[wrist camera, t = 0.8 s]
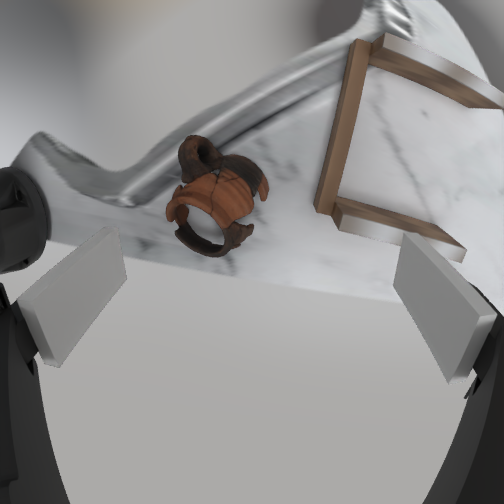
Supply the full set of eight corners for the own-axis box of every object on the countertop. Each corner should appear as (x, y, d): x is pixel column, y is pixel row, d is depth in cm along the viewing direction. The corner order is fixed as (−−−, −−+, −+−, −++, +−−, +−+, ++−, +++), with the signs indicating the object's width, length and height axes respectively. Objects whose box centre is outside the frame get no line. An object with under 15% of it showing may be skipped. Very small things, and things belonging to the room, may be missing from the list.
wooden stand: (313, 204, 33) (322, 226, 26) (350, 45, 25) (368, 26, 19) (433, 237, 33) (461, 263, 26) (470, 96, 25) (507, 96, 19)
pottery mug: (288, 210, 33) (257, 264, 28) (221, 219, 39) (186, 264, 34) (240, 108, 27) (191, 145, 22) (174, 135, 32) (124, 173, 27)
